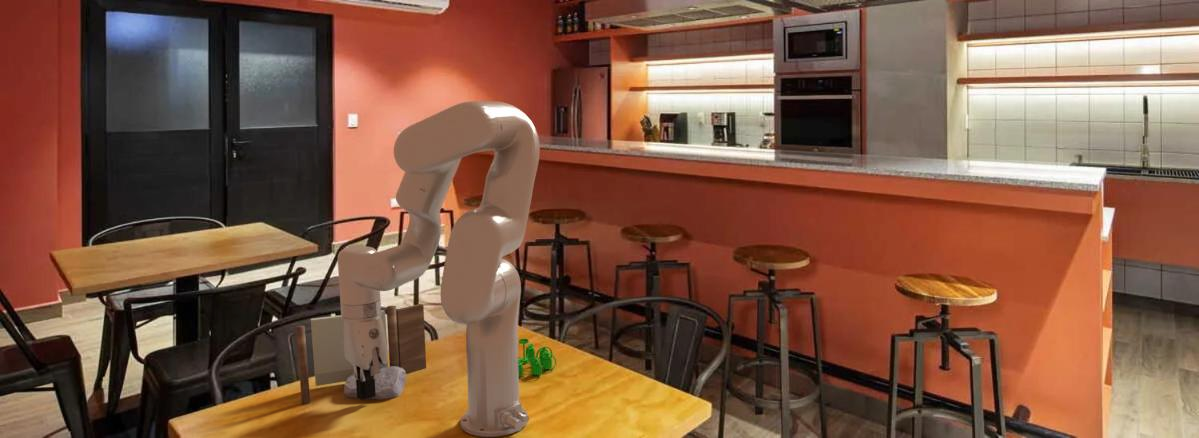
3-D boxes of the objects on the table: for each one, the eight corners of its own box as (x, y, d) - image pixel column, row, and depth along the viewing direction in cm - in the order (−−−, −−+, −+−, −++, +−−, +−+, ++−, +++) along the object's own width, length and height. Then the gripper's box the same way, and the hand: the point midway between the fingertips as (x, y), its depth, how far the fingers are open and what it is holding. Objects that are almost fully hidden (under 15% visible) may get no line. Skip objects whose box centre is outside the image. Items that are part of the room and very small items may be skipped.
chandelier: (502, 356, 167) (501, 328, 166) (563, 359, 164) (562, 331, 163) (482, 379, 152) (481, 349, 151) (548, 383, 150) (548, 353, 149)
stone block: (400, 407, 142) (408, 379, 151) (397, 387, 140) (405, 360, 150) (341, 411, 141) (353, 383, 150) (337, 391, 139) (350, 364, 149)
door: (387, 372, 153) (384, 310, 151) (388, 374, 152) (385, 311, 150) (315, 384, 147) (310, 318, 145) (315, 386, 146) (311, 320, 144)
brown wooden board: (427, 368, 158) (424, 300, 156) (304, 405, 138) (298, 328, 136) (422, 366, 160) (419, 299, 157) (300, 402, 140) (294, 326, 137)
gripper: (397, 312, 133) (402, 402, 136) (361, 298, 144) (366, 382, 146) (360, 321, 128) (366, 414, 131) (326, 305, 138) (331, 392, 141)
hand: (366, 397), depth 139 cm, fingers closed
